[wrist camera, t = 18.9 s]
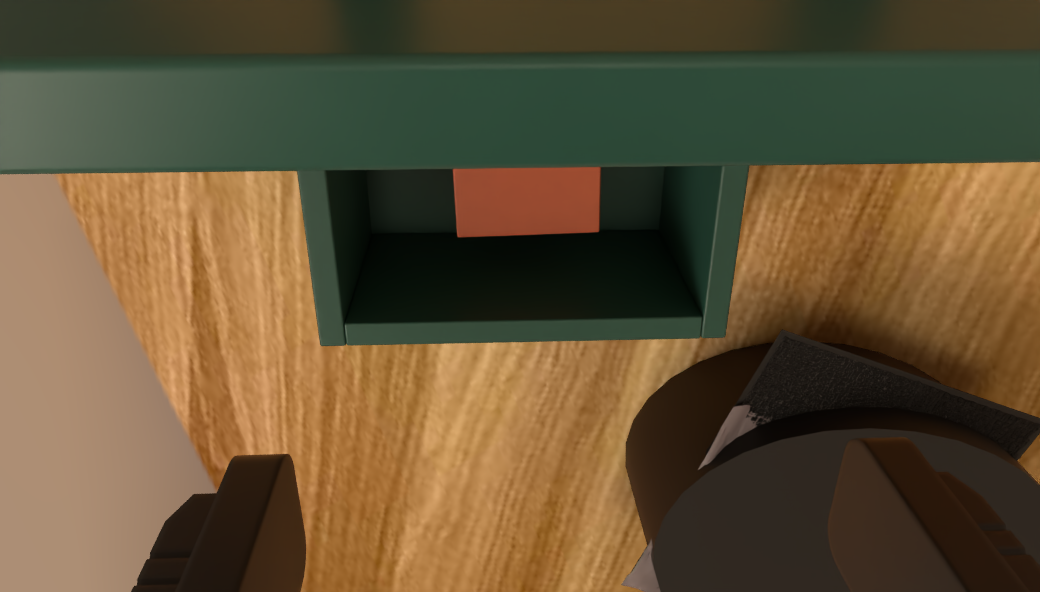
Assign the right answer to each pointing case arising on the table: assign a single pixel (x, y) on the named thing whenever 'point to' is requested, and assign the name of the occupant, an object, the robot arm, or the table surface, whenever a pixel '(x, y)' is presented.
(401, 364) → the table surface
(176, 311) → the table surface
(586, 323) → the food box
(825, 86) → the lid
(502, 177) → the block
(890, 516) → the robot arm
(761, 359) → the waffle maker
